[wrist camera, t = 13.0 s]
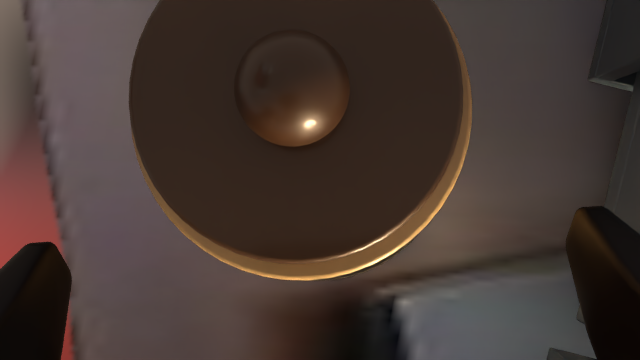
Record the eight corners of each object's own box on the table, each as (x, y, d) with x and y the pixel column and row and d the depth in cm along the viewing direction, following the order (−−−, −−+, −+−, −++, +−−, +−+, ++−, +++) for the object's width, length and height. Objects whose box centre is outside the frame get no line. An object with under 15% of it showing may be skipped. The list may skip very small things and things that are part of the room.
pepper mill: (406, 215, 20) (567, 272, 6) (255, 241, 20) (93, 353, 6) (379, 63, 20) (481, -198, 6) (229, 90, 20) (16, -112, 6)
